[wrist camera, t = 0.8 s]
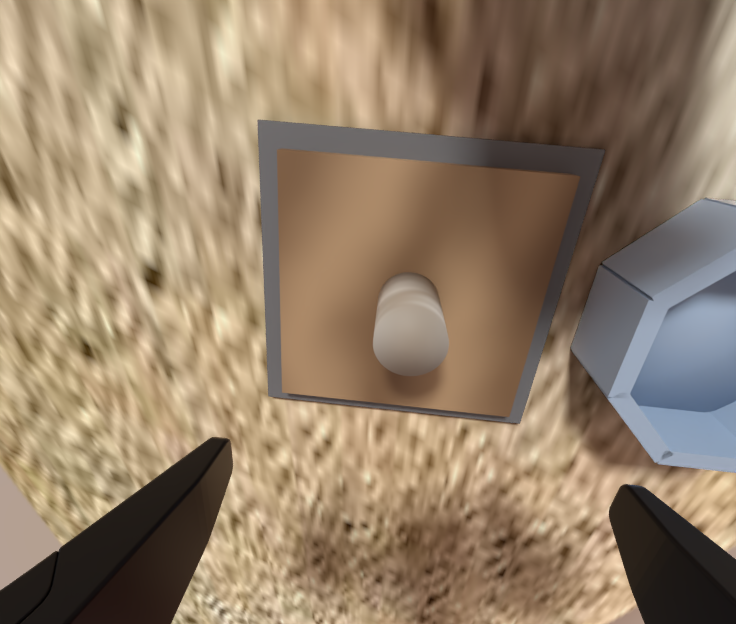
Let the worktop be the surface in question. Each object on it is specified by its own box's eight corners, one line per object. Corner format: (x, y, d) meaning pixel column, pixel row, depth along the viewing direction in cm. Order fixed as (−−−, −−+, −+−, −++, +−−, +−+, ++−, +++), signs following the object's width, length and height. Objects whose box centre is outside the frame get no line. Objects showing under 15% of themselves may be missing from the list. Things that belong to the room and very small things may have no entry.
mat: (600, 149, 16) (605, 149, 16) (517, 418, 22) (519, 423, 22) (260, 119, 17) (257, 119, 16) (270, 392, 23) (268, 396, 22)
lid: (572, 173, 16) (635, 192, 12) (505, 407, 21) (532, 479, 17) (282, 148, 17) (240, 157, 12) (286, 383, 22) (257, 448, 17)
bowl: (895, 214, 16) (1035, 240, 13) (760, 422, 21) (835, 483, 18) (625, 190, 17) (687, 209, 13) (552, 399, 21) (583, 455, 18)
